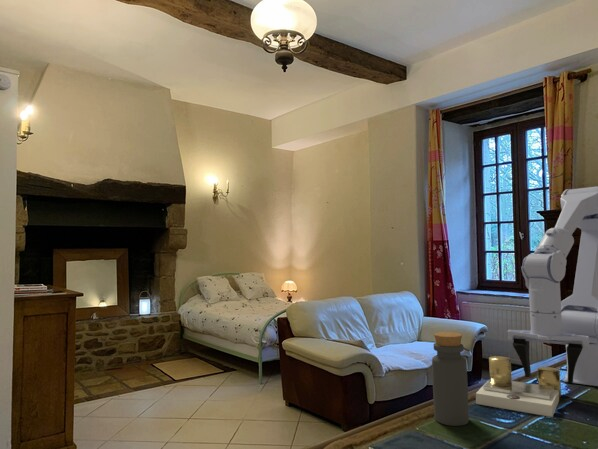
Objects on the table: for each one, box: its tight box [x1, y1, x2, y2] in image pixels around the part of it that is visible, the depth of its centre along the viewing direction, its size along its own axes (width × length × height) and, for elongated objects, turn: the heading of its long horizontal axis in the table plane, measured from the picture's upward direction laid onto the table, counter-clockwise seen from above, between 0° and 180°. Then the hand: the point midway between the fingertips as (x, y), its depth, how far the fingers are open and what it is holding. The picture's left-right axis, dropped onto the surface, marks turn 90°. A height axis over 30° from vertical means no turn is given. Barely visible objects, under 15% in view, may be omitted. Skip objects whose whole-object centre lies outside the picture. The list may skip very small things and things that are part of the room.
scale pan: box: [482, 379, 554, 400], centre depth 89 cm, size 7×12×1 cm, turn 54°
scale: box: [475, 379, 560, 418], centre depth 88 cm, size 10×13×2 cm
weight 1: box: [488, 355, 513, 386], centre depth 91 cm, size 4×4×5 cm
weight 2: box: [537, 366, 562, 398], centre depth 92 cm, size 4×4×5 cm
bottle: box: [431, 331, 470, 427], centre depth 80 cm, size 6×6×15 cm
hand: (548, 378), depth 92 cm, fingers open, 7 cm apart
